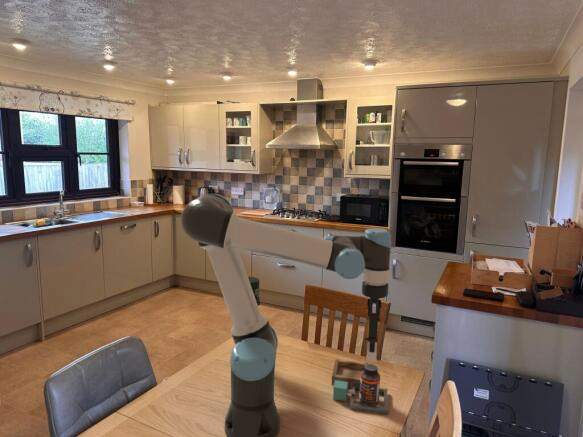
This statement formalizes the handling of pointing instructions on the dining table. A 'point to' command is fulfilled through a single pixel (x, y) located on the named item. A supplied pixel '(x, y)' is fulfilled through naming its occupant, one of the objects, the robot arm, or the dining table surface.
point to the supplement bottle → (369, 385)
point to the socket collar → (368, 407)
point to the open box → (347, 372)
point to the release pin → (341, 390)
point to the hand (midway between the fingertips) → (371, 350)
